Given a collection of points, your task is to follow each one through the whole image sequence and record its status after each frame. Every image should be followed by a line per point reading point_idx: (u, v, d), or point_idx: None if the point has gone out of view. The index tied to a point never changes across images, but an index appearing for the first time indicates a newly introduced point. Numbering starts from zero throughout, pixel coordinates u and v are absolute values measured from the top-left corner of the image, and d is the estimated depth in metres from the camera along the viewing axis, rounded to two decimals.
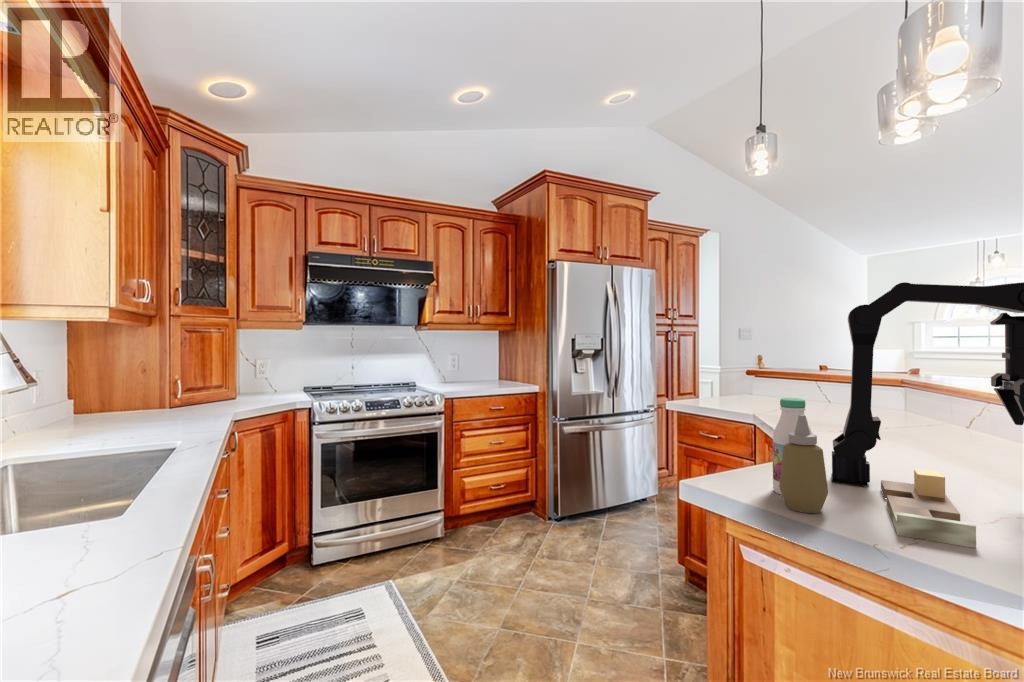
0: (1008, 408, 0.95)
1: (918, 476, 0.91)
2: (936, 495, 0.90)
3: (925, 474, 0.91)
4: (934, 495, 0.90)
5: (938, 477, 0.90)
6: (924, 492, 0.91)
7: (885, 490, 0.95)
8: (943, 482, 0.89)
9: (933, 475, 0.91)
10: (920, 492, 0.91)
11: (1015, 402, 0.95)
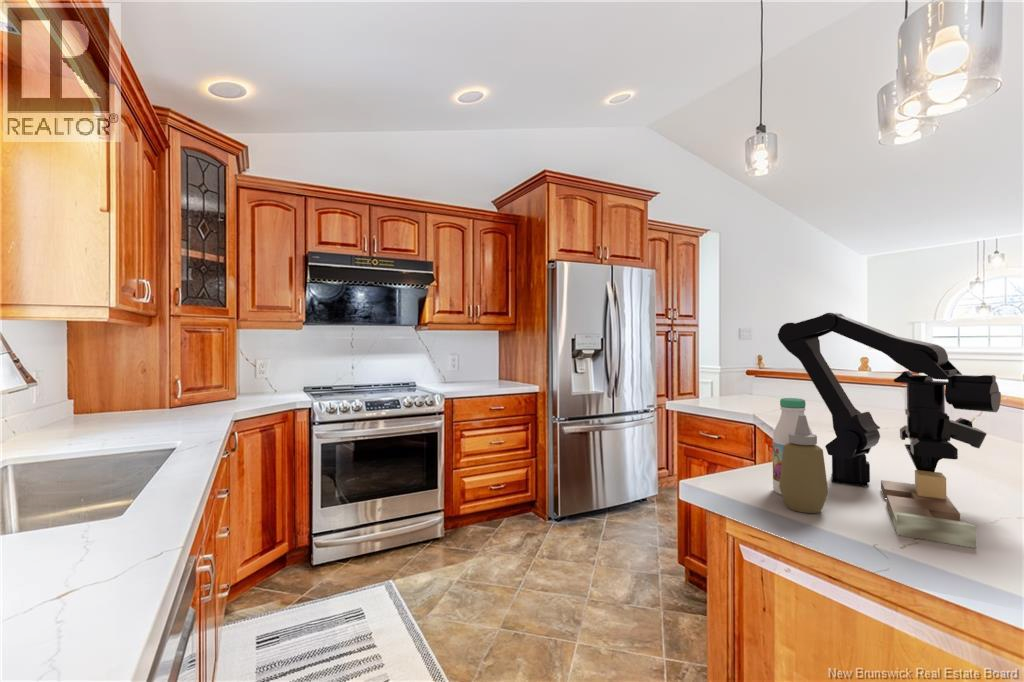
0: None
1: (919, 477, 0.91)
2: (937, 496, 0.89)
3: (926, 475, 0.91)
4: (935, 496, 0.90)
5: (939, 478, 0.89)
6: (925, 493, 0.90)
7: (885, 490, 0.95)
8: (944, 483, 0.89)
9: (934, 476, 0.90)
10: (921, 493, 0.91)
11: None
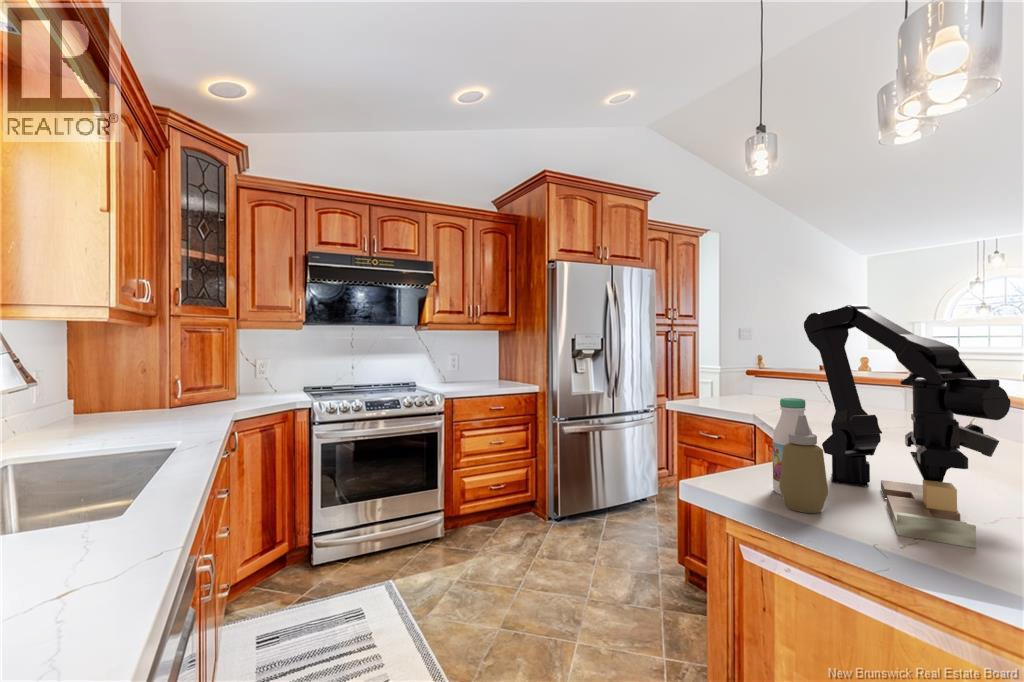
0: None
1: (927, 488, 0.84)
2: (947, 508, 0.83)
3: (935, 486, 0.84)
4: (945, 508, 0.83)
5: (949, 489, 0.83)
6: (934, 505, 0.84)
7: (885, 490, 0.95)
8: (955, 494, 0.83)
9: (944, 487, 0.84)
10: (930, 505, 0.84)
11: None
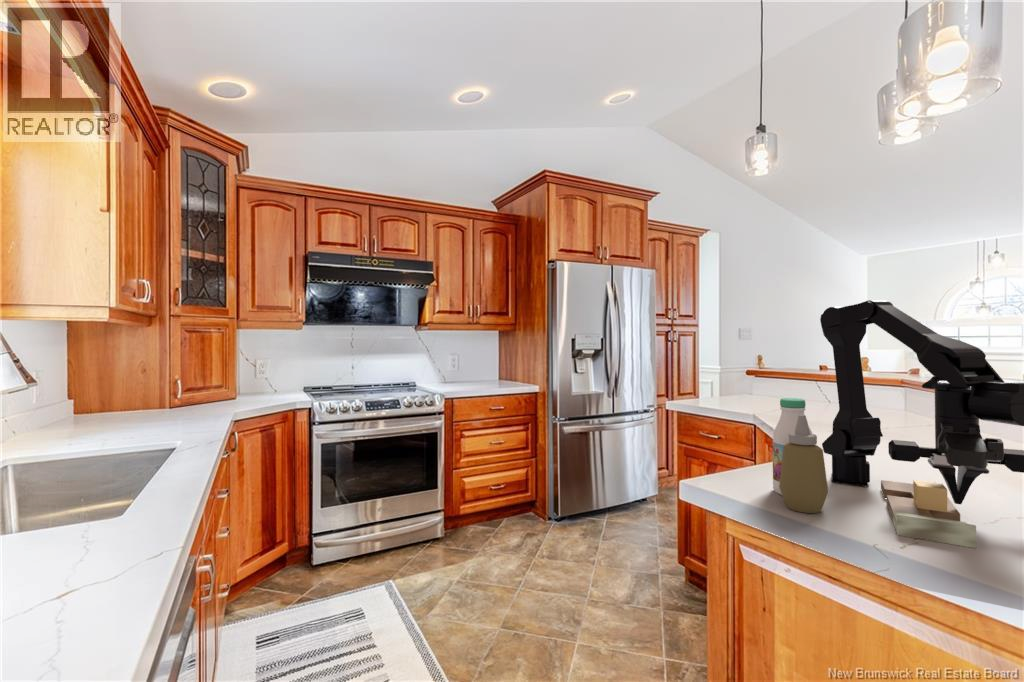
0: (957, 483, 0.85)
1: (918, 488, 0.84)
2: (937, 509, 0.83)
3: (926, 486, 0.84)
4: (935, 509, 0.83)
5: (940, 489, 0.83)
6: (924, 505, 0.84)
7: (885, 490, 0.95)
8: (945, 495, 0.82)
9: (934, 487, 0.84)
10: (920, 505, 0.84)
11: (959, 478, 0.84)
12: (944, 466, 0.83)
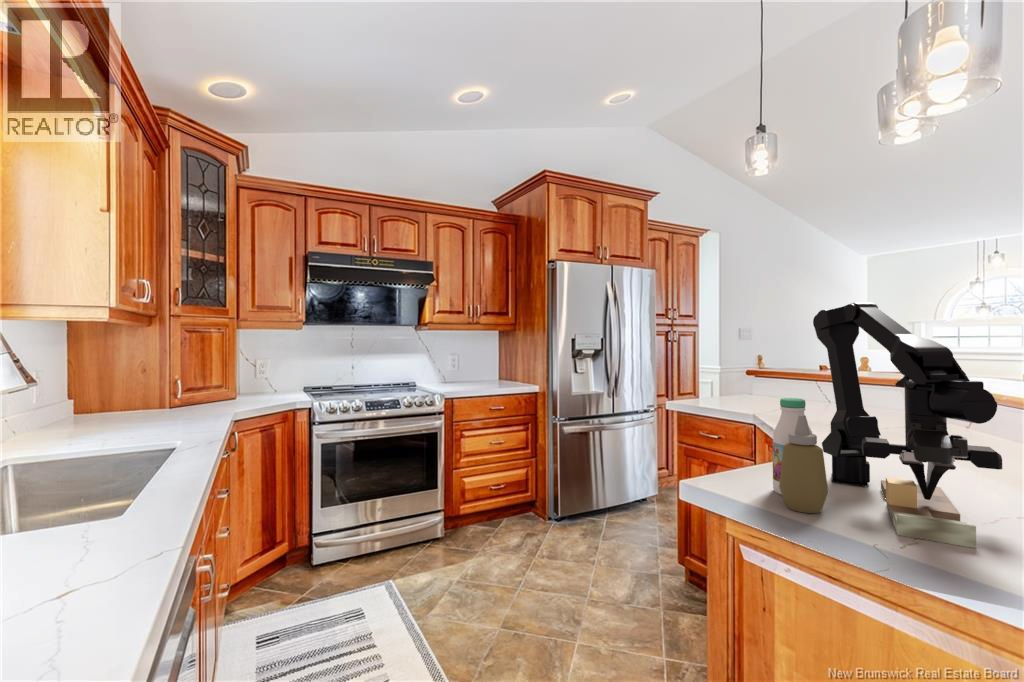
0: None
1: (889, 485, 0.87)
2: (908, 505, 0.85)
3: (896, 482, 0.87)
4: (906, 505, 0.85)
5: (910, 486, 0.85)
6: (895, 502, 0.86)
7: (885, 490, 0.95)
8: (915, 491, 0.85)
9: (905, 484, 0.86)
10: (891, 502, 0.86)
11: (928, 474, 0.86)
12: (913, 462, 0.85)
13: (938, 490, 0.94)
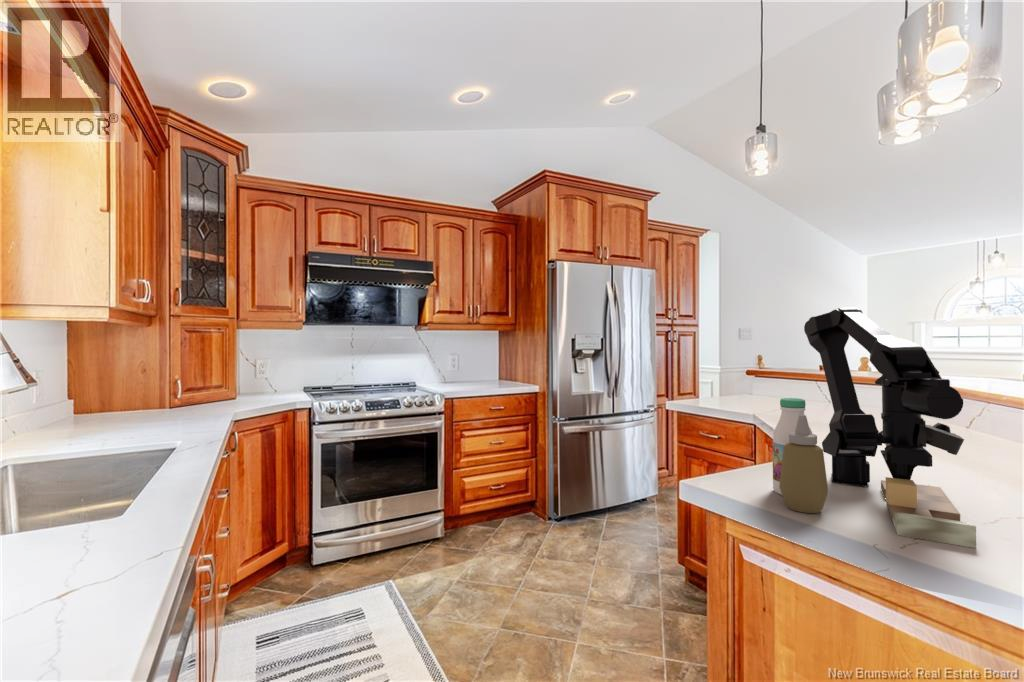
0: None
1: (889, 485, 0.87)
2: (907, 505, 0.85)
3: (896, 482, 0.87)
4: (905, 505, 0.85)
5: (910, 486, 0.85)
6: (895, 502, 0.86)
7: (885, 490, 0.95)
8: (915, 491, 0.85)
9: (904, 484, 0.86)
10: (891, 501, 0.86)
11: None
12: None
13: (938, 490, 0.94)
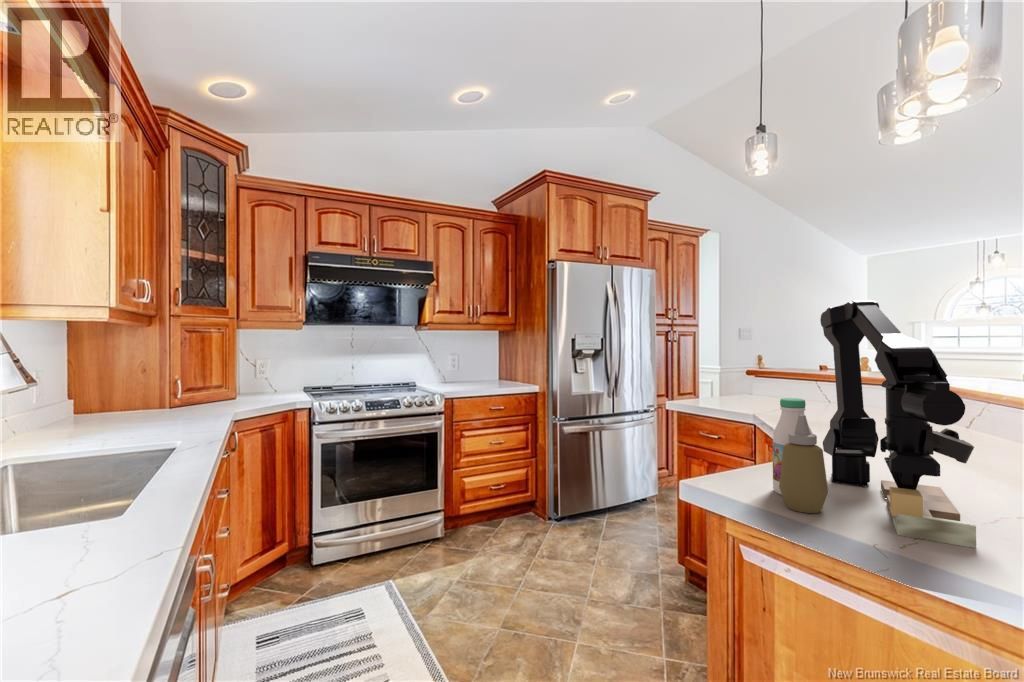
0: None
1: (893, 495, 0.81)
2: None
3: (901, 493, 0.81)
4: None
5: (915, 496, 0.79)
6: (900, 513, 0.81)
7: (885, 490, 0.95)
8: (921, 502, 0.79)
9: (910, 494, 0.80)
10: (895, 513, 0.81)
11: None
12: None
13: (938, 490, 0.94)
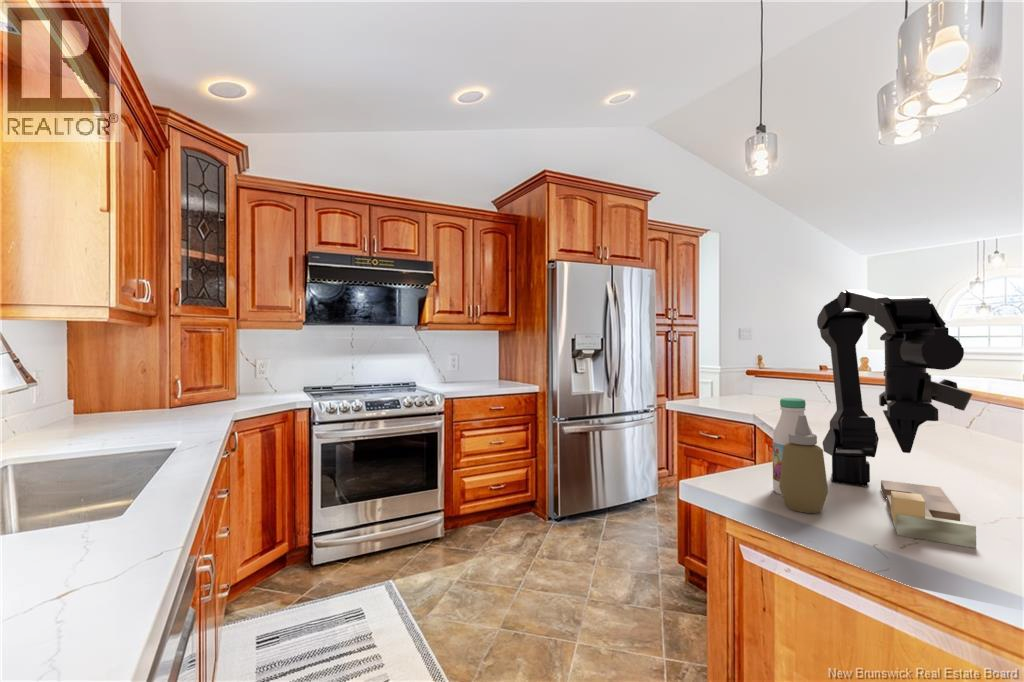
0: None
1: (894, 500, 0.79)
2: None
3: (902, 497, 0.79)
4: None
5: (917, 501, 0.77)
6: None
7: (885, 490, 0.95)
8: (923, 507, 0.77)
9: (911, 499, 0.78)
10: None
11: None
12: None
13: (938, 490, 0.94)
